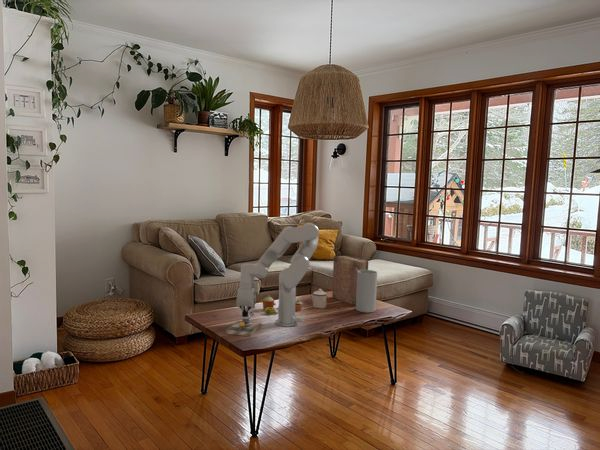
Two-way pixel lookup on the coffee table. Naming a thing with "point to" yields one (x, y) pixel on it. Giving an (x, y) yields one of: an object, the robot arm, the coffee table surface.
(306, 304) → the coffee table surface
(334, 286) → the book
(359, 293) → the cylinder vase
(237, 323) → the stand
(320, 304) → the teacup with lid
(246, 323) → the ball-knob lever handle
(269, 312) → the toy tea set
